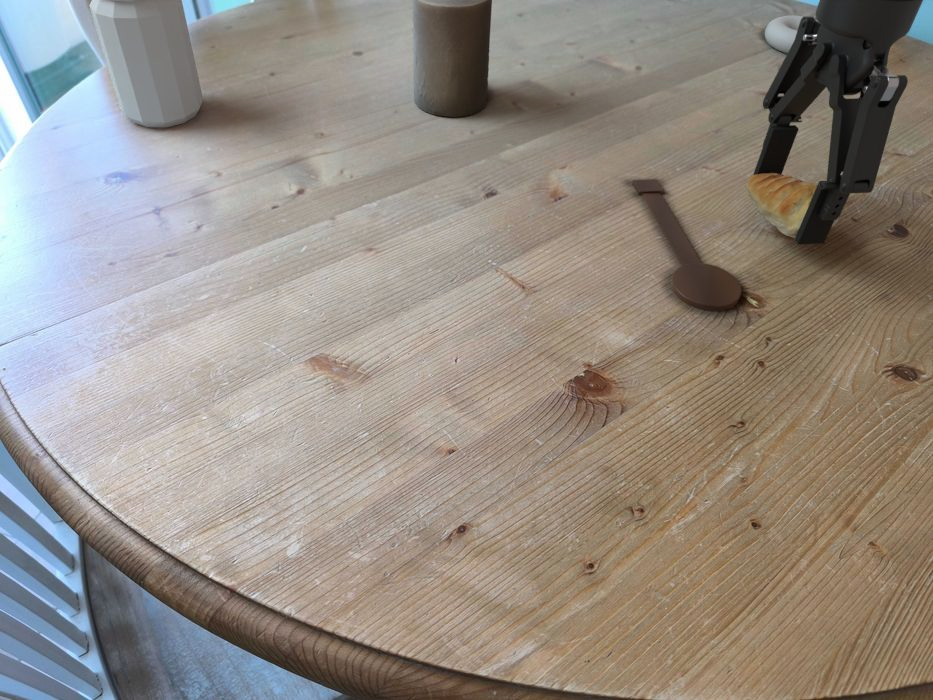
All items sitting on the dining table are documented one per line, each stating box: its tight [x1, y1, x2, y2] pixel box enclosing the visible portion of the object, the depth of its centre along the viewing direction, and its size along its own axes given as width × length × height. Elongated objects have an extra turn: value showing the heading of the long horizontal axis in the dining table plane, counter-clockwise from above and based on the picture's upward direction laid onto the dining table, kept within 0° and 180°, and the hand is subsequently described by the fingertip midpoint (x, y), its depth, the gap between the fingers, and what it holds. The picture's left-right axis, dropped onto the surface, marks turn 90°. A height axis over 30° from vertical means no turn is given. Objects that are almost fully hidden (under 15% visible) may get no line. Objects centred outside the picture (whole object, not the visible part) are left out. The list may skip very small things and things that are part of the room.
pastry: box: [746, 173, 841, 239], centre depth 75 cm, size 9×7×4 cm
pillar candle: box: [412, 0, 493, 118], centre depth 93 cm, size 10×10×15 cm
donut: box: [764, 15, 804, 55], centre depth 115 cm, size 10×3×10 cm
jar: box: [88, 0, 204, 128], centre depth 87 cm, size 10×10×18 cm
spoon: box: [631, 178, 742, 312], centre depth 76 cm, size 6×22×2 cm, turn 8°
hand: (785, 211), depth 76 cm, fingers closed on pastry, 10 cm apart
